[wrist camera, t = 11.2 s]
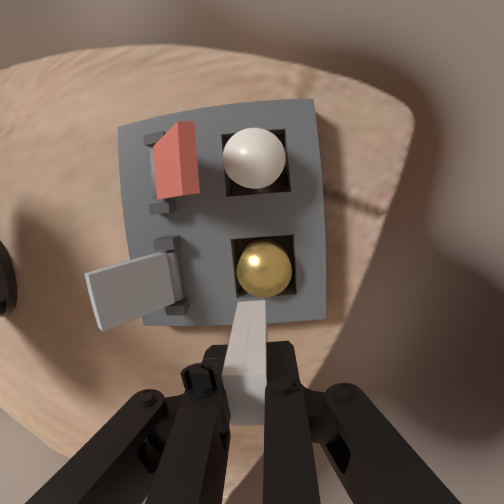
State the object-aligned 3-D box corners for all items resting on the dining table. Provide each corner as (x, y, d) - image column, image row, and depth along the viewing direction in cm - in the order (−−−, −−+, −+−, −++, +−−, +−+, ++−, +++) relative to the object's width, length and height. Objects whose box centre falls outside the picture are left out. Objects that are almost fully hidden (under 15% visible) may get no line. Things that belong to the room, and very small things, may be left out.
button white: (231, 191, 25) (225, 191, 22) (226, 138, 24) (220, 131, 21) (285, 186, 25) (287, 186, 21) (280, 134, 24) (282, 125, 20)
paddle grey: (177, 295, 28) (97, 327, 21) (170, 248, 27) (83, 272, 20) (187, 298, 27) (104, 332, 20) (179, 249, 26) (89, 275, 19)
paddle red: (152, 200, 25) (179, 195, 17) (148, 150, 24) (174, 121, 16) (167, 198, 26) (202, 192, 18) (163, 148, 25) (197, 121, 17)
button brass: (242, 286, 29) (239, 299, 26) (238, 240, 28) (234, 247, 25) (290, 283, 29) (292, 295, 26) (287, 236, 28) (290, 243, 24)
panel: (153, 314, 32) (137, 333, 27) (130, 131, 27) (108, 123, 22) (321, 307, 30) (329, 327, 26) (309, 107, 26) (316, 92, 21)
